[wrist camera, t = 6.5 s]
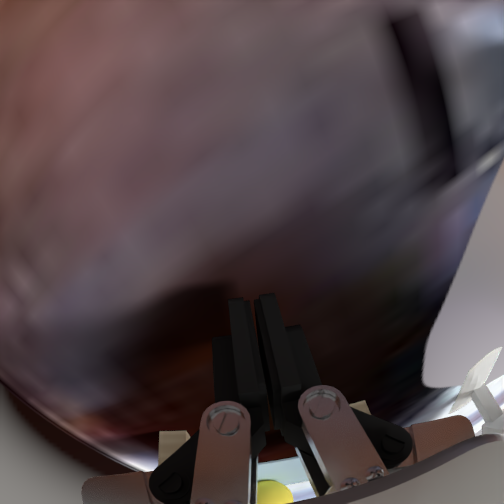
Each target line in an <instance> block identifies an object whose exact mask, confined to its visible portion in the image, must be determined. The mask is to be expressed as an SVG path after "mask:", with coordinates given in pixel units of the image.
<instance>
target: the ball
mask: <svg viewBox="0 0 504 504" xmlns="http://www.w3.org/2000/svg"><path fill="white" fill-rule="evenodd" d="M292 502H293V496H292V493H291V492H290V490H289V489H288V488H287V487H286V486H285V485H283V484H282V483H280V482H277V481H273V480H264V481H259V482H257V504H286V503H292Z"/></svg>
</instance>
